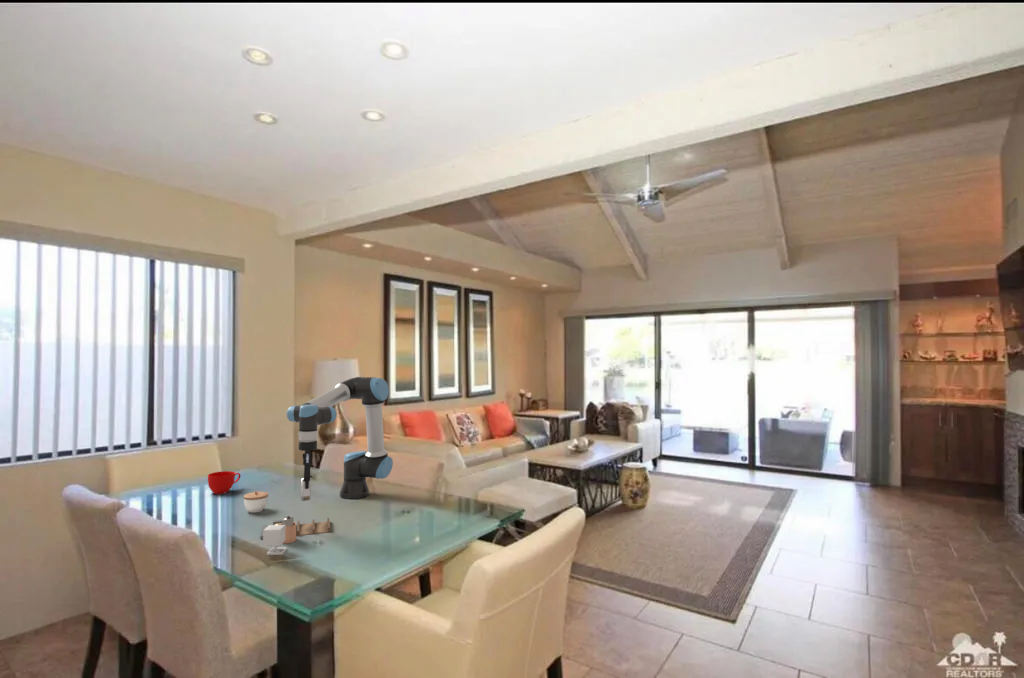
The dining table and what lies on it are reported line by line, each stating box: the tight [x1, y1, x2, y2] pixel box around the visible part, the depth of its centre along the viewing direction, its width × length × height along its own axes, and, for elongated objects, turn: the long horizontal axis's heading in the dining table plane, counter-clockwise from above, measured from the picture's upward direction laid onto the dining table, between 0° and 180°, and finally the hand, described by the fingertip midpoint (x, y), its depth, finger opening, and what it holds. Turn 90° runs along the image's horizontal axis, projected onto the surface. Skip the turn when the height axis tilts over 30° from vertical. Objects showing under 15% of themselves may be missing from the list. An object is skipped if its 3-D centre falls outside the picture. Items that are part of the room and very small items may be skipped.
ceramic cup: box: [207, 470, 241, 495], centre depth 284 cm, size 13×17×10 cm
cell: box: [300, 477, 312, 502], centre depth 226 cm, size 4×4×10 cm
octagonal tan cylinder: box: [280, 521, 297, 544], centre depth 213 cm, size 6×6×7 cm
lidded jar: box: [243, 490, 269, 513], centre depth 252 cm, size 11×11×9 cm
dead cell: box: [282, 515, 294, 527], centre depth 213 cm, size 4×4×10 cm
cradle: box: [259, 519, 283, 540], centre depth 223 cm, size 13×15×3 cm
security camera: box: [262, 524, 288, 556], centre depth 200 cm, size 6×7×10 cm
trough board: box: [296, 517, 331, 537], centre depth 227 cm, size 13×14×2 cm
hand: (306, 494), depth 226 cm, fingers closed on cell, 3 cm apart
